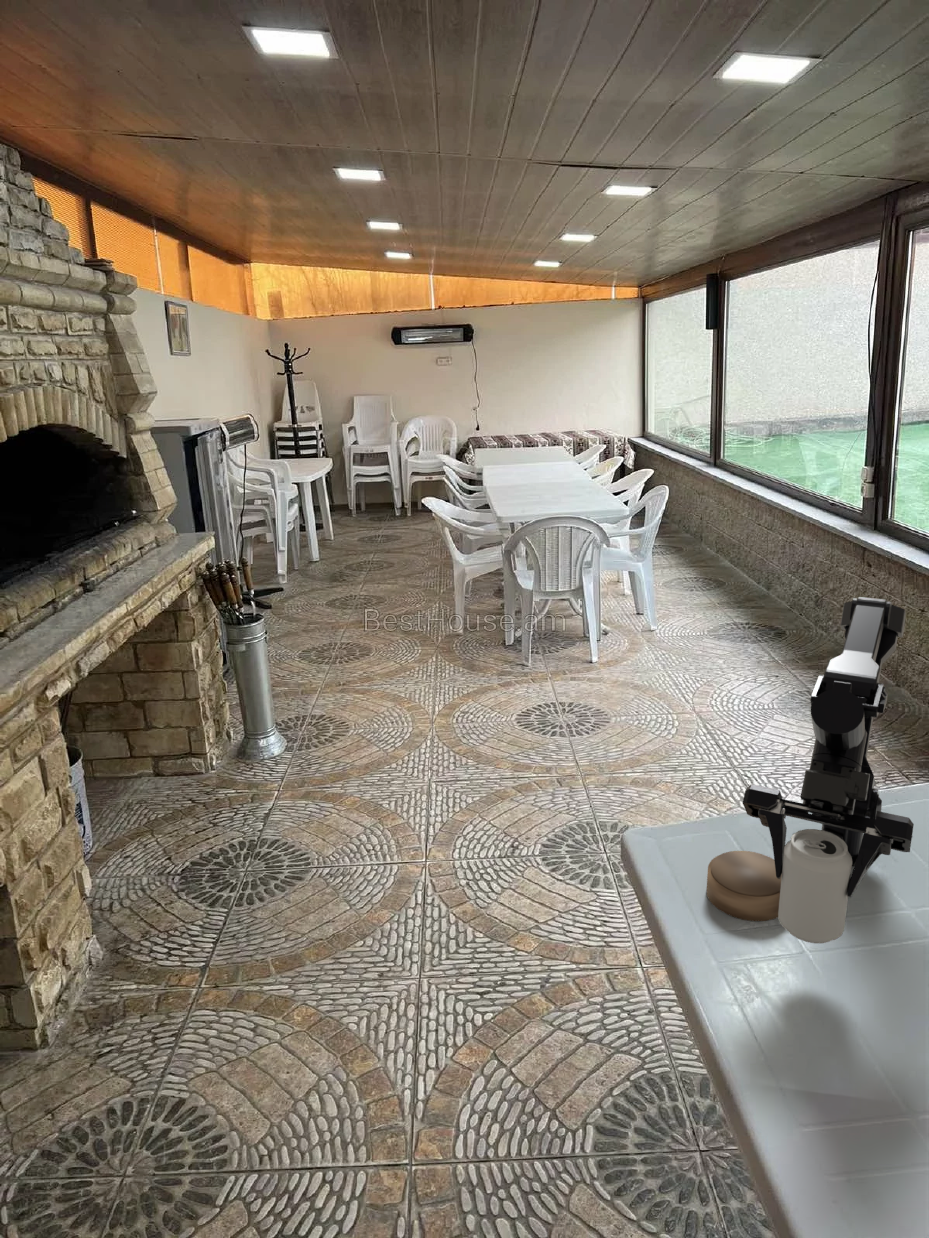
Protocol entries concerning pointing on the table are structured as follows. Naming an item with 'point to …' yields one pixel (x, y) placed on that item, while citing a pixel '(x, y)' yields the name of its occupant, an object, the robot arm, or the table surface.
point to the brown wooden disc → (744, 885)
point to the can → (814, 886)
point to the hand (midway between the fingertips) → (812, 886)
